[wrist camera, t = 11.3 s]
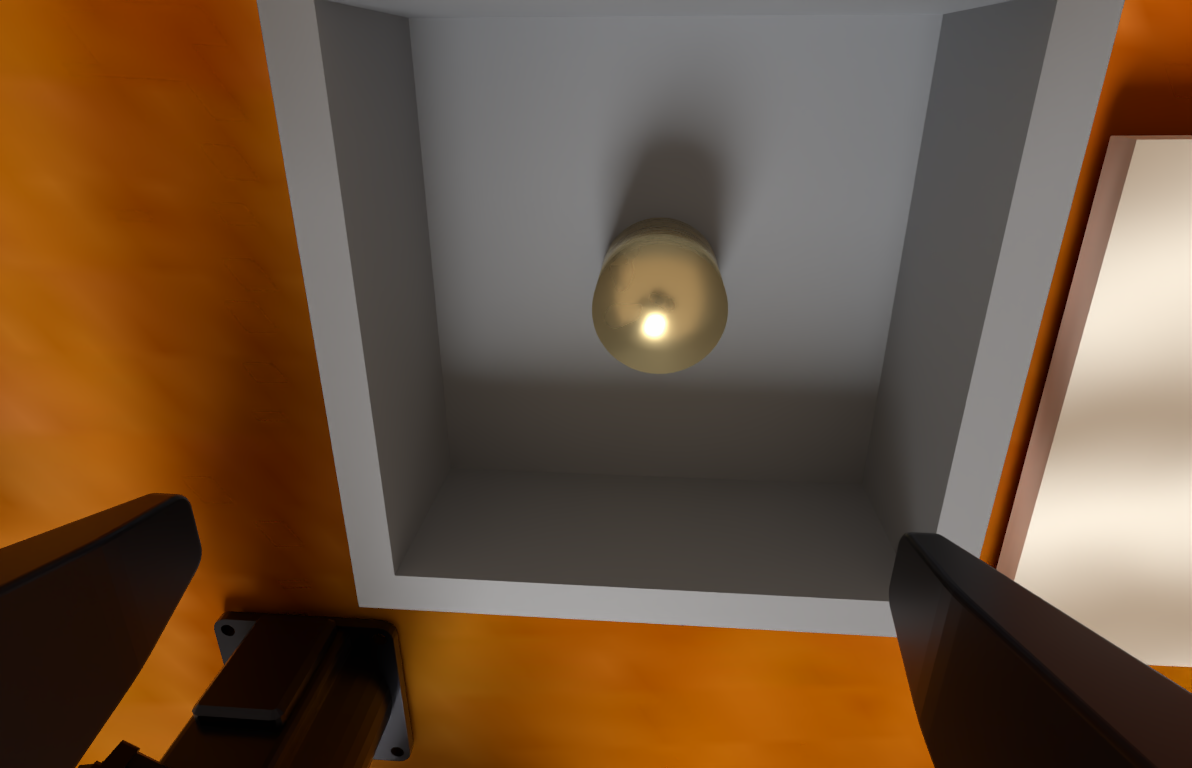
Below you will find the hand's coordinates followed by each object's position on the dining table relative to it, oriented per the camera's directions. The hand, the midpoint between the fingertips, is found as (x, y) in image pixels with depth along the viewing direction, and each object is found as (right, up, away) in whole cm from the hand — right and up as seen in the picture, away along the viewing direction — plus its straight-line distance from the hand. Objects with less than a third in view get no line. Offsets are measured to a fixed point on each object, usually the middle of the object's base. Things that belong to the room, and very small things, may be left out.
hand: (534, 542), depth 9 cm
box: (+3, +5, +10) cm, 12 cm away
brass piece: (+2, +5, +10) cm, 11 cm away
